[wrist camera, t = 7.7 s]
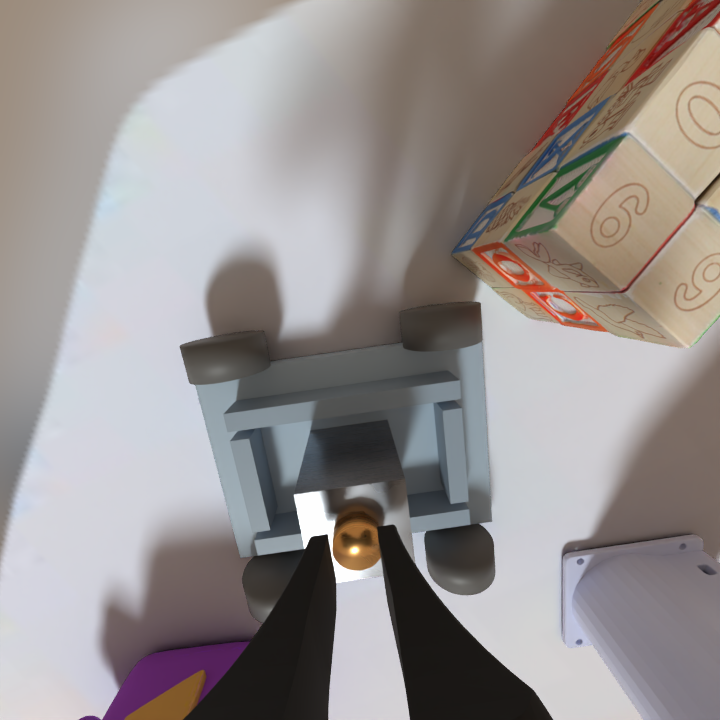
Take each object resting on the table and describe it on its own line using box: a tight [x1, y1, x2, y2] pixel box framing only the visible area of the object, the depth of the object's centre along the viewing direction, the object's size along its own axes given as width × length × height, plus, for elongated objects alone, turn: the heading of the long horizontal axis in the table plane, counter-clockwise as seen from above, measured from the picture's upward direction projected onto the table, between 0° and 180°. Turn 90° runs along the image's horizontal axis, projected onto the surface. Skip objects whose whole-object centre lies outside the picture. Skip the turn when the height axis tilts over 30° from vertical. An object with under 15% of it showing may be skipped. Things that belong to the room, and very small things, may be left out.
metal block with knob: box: [294, 419, 415, 583], centre depth 16 cm, size 4×4×7 cm
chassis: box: [180, 302, 495, 623], centre depth 18 cm, size 16×16×4 cm
